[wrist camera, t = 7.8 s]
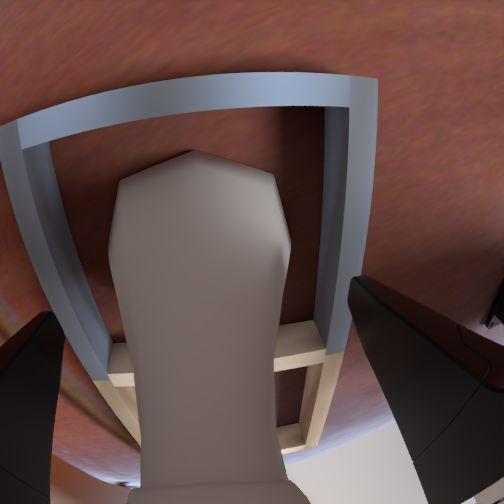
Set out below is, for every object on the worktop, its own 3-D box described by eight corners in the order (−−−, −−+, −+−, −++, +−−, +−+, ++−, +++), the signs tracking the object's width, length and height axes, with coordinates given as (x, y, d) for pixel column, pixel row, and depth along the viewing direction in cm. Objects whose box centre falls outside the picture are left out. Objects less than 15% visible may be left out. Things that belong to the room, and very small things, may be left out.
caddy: (349, 78, 9) (377, 78, 8) (310, 425, 21) (316, 446, 19) (23, 119, 8) (-6, 128, 6) (158, 444, 20) (158, 466, 18)
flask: (281, 308, 14) (356, 520, 6) (125, 315, 13) (97, 539, 5) (297, 148, 11) (537, 362, 2) (96, 156, 10) (-110, 395, 1)
